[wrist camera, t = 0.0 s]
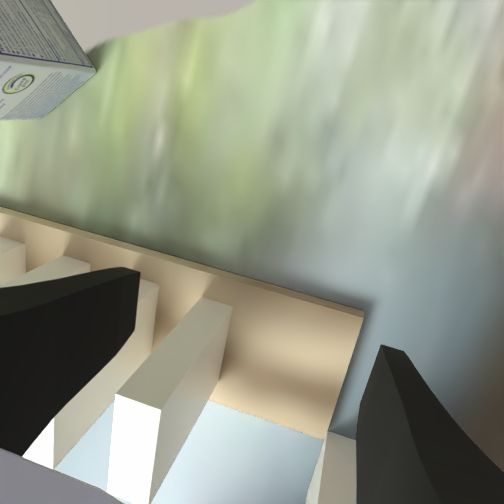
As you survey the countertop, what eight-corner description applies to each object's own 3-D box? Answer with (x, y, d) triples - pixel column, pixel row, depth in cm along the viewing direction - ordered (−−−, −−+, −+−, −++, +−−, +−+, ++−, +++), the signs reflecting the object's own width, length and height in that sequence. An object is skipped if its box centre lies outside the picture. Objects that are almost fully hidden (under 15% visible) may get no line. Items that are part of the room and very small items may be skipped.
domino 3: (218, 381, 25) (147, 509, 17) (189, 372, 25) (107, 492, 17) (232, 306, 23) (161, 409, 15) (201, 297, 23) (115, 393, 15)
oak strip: (325, 430, 25) (324, 440, 24) (-22, 311, 29) (-33, 317, 28) (364, 311, 22) (363, 318, 21) (-29, 198, 26) (-40, 201, 25)
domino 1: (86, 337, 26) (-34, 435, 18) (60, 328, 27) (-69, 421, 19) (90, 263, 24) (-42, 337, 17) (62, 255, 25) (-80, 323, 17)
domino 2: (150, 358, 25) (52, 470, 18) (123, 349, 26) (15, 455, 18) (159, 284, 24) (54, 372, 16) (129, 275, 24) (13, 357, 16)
